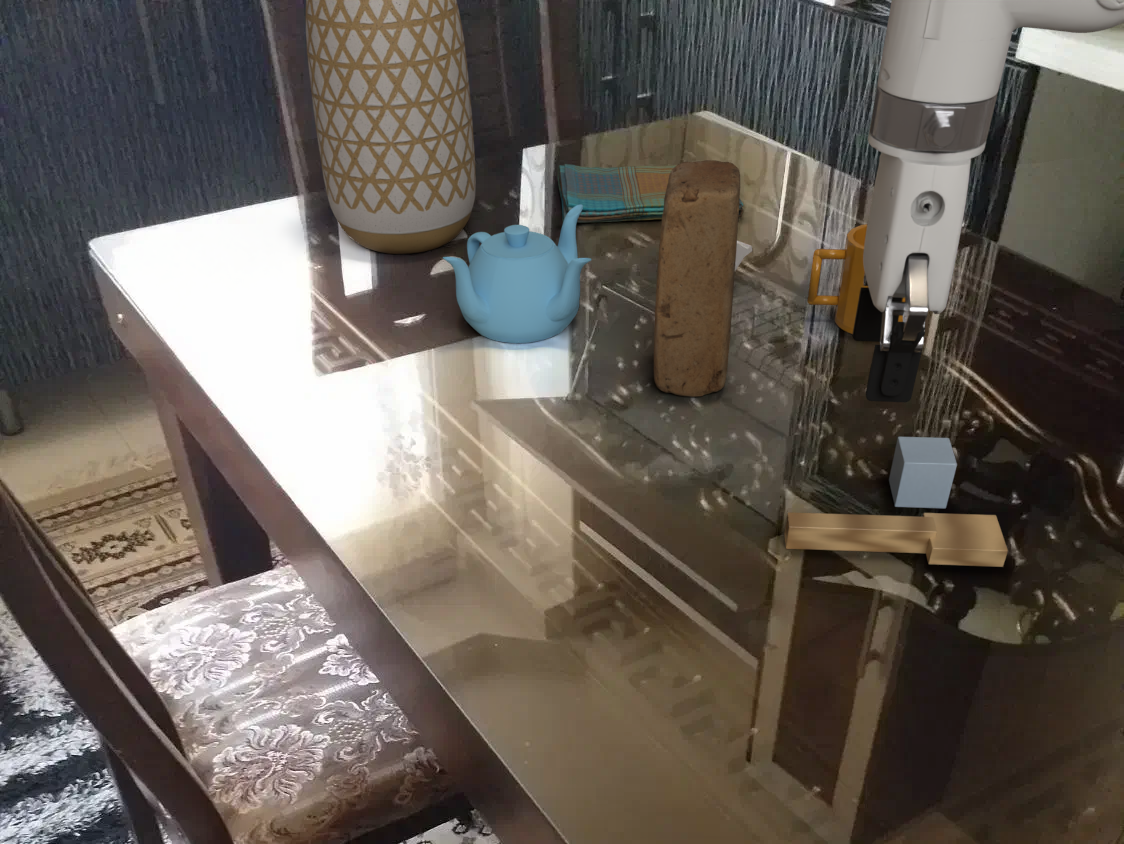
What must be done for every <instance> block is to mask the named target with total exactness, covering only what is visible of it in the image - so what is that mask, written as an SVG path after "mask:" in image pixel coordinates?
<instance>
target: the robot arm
mask: <svg viewBox="0 0 1124 844" xmlns="http://www.w3.org/2000/svg"><path fill="white" fill-rule="evenodd" d="M1123 23H1124V0H891V1H890V7H889V14H888V18H887V26H886V30H885V36H884V42H883V48H882V55H881V61H880V66H879V71H878V77H877V85H876V89H875V95H874V100H873V107H872V113H871V118H870V124H869V131H868V135H867V136H868V137H867V141H868V144H869V146H871V147H872V148H873V149H875V150H876V151H878V152H880V155H879V158H878V161H879V162H878V166H877V171H876V176H875V181H874V186H873V191H872V196H871V202H870V207H869V213H868V217H867V223H866V224H867V230H866V237H865V244H864V254H863V264H864V271H865V273H864V286H868V287H869V288H865V287H861V290H860V295H859V301H858V306H857V312H856V317H855V323H854V328H853V334H852V337H853V338H852V339H853V340H854V341H856V342H871V343H872V342H875V343H879V344H874V347H873V353H872V358H871V364H870V368H869V374H868V377H867V383H866V387H865V397H866V400H867V401H868V402H882V403H883V402H885V403H887V402H888V403H908V402H910V401H911V400H912V397H913V392H914V388H915V383H916V379H917V375H918V371H919V366H920V363H921V362H920V361H921V359H922V358H921V357H922V353H923V347H924V341H925V335H926V327H925V326H926V320H927V318H928V316H929V315H928V314H929V312H933V314H934V315H940V314H941V313H943V311H944V310H945V309H946V308H947V305H948V300H949V294H950V290H951V286H952V280H953V275H954V270H955V264H956V259H957V255H958V249H959V243H960V240H961V239H960V238H961V233H962V228H963V221H964V217H965V210H966V205H967V199H968V191H969V190H968V189H969V183H970V172H971V163H972V162H971V161H972V160H971V159H973V158H976V157H978V156H980V155H981V154H982V153H984V151H985V149H986V144H987V139H988V136H989V132H990V127H991V123H992V120H993V114H994V110H995V106H996V102H997V99H998V93H999V90H1000V85H1001V81H1002V77H1003V73H1004V68H1005V64H1006V62H1007V61H1006V60H1007V56H1008V52H1009V47H1010V44H1011V40H1012V35H1013V32H1014V31H1015V30H1017V29H1019V28H1026V29H1038V30H1048V31H1056V32H1064V33H1075V34H1088V33H1096V32H1101V31H1106V30H1108V29H1112V28H1114V27H1117V26H1119V25H1121V24H1123ZM903 298H905V302H902V300H903ZM899 316H903V322H898V319H899Z"/></svg>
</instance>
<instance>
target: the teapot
mask: <svg viewBox="0 0 1124 844" xmlns="http://www.w3.org/2000/svg"><path fill="white" fill-rule="evenodd" d="M582 209H583V205H577V206H575V207H573V208H572V209H571V210H570V211H569V212H568V213H567V215H566V217H565V219H564V222H563V221H562V225H561V229H560V234H559V238H558V243H557V244H556V243H555V242H554V240H552V238H551V237H549V236H548V235H546V234H543V233H540V232H536V231H530V228H529V227H528V226H526V225H524V224H512V225H508V226H506V227H504V230H503V232H498V233H495V234H493V235H491V234H489V233H488V232H486V231H478V232H475V233H473V234H471V235H470V236H469V237H468V239H467V242H466V251H467V258H468V262H469V265H468V264H467V262H466V261H465V260H464V259H463V258H460V257H456V256H442V259H443V260H444V261H446V262H447V263H448V264H450V266H451V267H452V269H453V272H454V277H455V297H456V301H457V304H458V307H459V309H460V313H461V315H462V317H463V318H464V320H465V321H466V323H468V324H469V326H470V327H472V328H473V330H475V331H476V332H477V333H478V334H480V335H481V336H482V337H484V338H487V339H489V340H492V341H497V342H501V343H510V344H526V343H535V342H540V341H544V340H548V339H551V338H552V337H555V336H558V335H559V334H560V333H562V332H563V331H565V330H566V328H567V327H568V326H569V325H570V324H571V322H572V321H573V320H574V319H575V318H576V316H577V314H578V312H579V310H580V299H581V273H582V270H583V268H584V266H585V265H586V264H588V263H590V262H591V261H592V258H590V257H579V255H578V246H577V245H578V244H577V232H576V231H577V224H578V223H577V220H578V217H579V215H580V213H581V211H582Z"/></svg>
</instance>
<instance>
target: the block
mask: <svg viewBox="0 0 1124 844" xmlns="http://www.w3.org/2000/svg"><path fill="white" fill-rule="evenodd" d="M676 165H677V166H675V167H674V168H673V169H672V171H671V172H670V175H669V179H668V184H667V189H666V193H665V198H664V209H663V215H662V219H661V224H660V234H659V235H660V236H659V244H658V245H659V246H658V260H657V271H656V285H655V287H656V288H655V304H654V322H653V323H654V325H653V330H654V331H653V333H654V334H653V380H654V383H655V386H656V388H657V389H659V390H660V391H662V392H664V393H667V394H673V395H676V396H681V397H691V398H692V397H693V398H694V397H695V398H696V397H703V396H706V395H709V394H712V393H717V392H719V391H721V390H722V389H723V388H724V387H725V385H726V381H727V374H728V365H729V355H730V345H731V337H732V336H731V335H732V334H731V333H732V319H733V318H732V316H733V301H734V287H735V274H736V273H735V272H736V271H735V262H736V248H737V241H738V232H739V216H738V215H739V200H741V197H740V196H741V173H740V168H738V166H737V165H736V164H734V163H733V162H730V161H721V160H715V159H714V160H713V159H712V160H711V159H706V160H705V159H704V160H696V161H682V162H680V163H678V164H676Z"/></svg>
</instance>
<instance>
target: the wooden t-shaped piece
mask: <svg viewBox="0 0 1124 844" xmlns="http://www.w3.org/2000/svg"><path fill="white" fill-rule="evenodd" d="M784 543H785V548H786V549H787V550H813V551H815V550H817V551H840V552H841V551H846V552H847V551H848V552H871V553H872V552H873V553H900V554H901V553H902V554H925V556H926V560H927V563H928V565H937V566H939V565H940V566H941V565H942V566H969V567H994V568H995V567H997V568H1004V565H1005V561H1006V559H1007V555H1008V552H1009V550H1008V547H1007V544H1006V540H1005V538H1004V535H1003V532H1002V529H1001V526H1000V522H999V521H998V516H997V515H996V514H976V513H975V514H970V513H968V514H967V513H938V512H923V513H922V516H912V515H883V514H882V515H881V514H851V513H850V514H849V513H822V512H821V513H820V512H818V513H817V512H791V511H790V512H787V514H786V519H785V527H784Z"/></svg>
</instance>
